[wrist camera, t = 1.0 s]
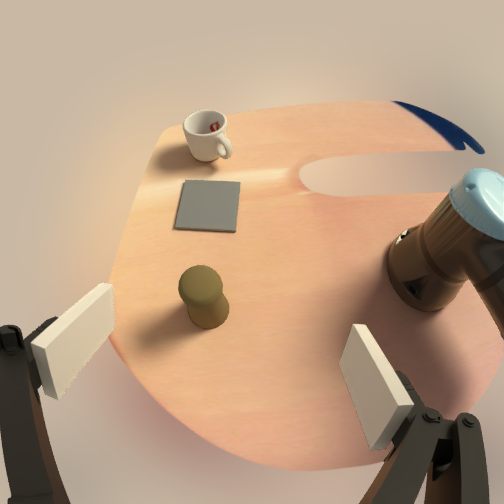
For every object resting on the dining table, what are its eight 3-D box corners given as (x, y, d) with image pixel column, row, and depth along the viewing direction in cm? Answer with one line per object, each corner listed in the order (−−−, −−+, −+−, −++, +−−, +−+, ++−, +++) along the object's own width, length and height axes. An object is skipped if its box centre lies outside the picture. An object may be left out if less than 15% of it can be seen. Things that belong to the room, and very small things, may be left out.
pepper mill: (186, 292, 44) (170, 261, 34) (226, 286, 45) (221, 253, 35) (190, 331, 41) (174, 311, 32) (232, 325, 42) (229, 303, 32)
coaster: (240, 184, 53) (240, 182, 53) (235, 232, 49) (235, 230, 48) (185, 182, 53) (185, 179, 53) (175, 228, 49) (175, 226, 48)
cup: (246, 159, 56) (247, 128, 49) (215, 181, 53) (212, 150, 46) (210, 133, 59) (207, 104, 52) (179, 152, 57) (174, 122, 49)
